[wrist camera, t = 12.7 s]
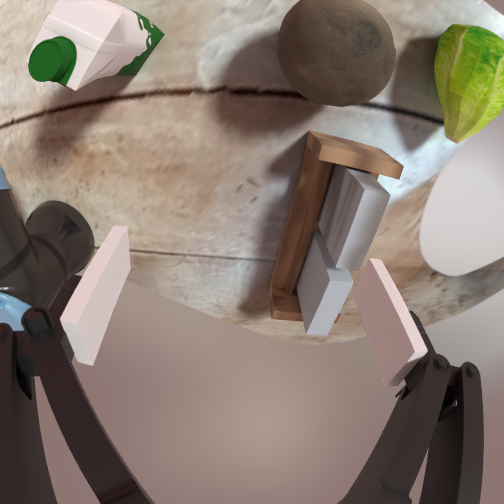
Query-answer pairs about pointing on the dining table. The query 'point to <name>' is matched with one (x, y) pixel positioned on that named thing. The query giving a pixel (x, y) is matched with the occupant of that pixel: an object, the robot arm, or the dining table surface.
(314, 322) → the gray angular faceted block
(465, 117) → the lettuce
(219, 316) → the dining table surface
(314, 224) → the wooden slotted stand
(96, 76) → the milk carton
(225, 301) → the dining table surface
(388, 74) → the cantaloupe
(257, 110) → the dining table surface
